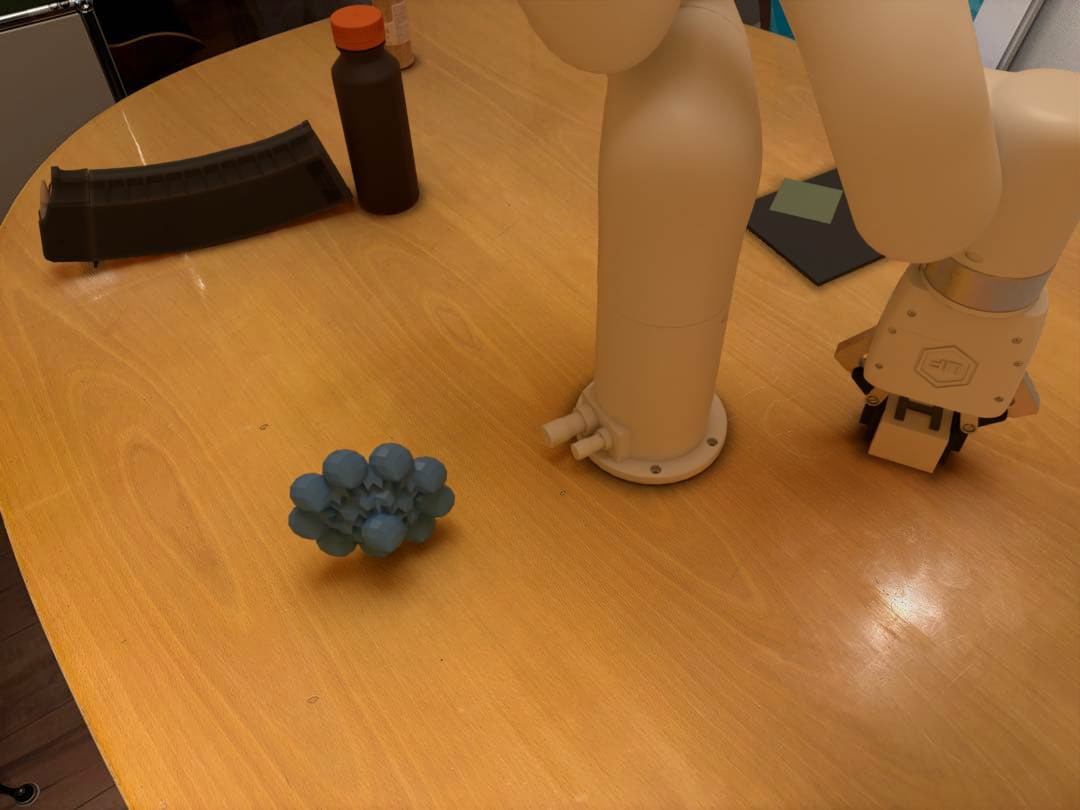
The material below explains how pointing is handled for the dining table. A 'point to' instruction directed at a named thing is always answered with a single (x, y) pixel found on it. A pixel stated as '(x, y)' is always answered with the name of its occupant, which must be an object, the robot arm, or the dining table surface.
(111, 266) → the dining table surface
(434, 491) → the grapes
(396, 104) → the vinegar
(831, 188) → the mat
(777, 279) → the dining table surface
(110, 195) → the magazine
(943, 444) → the tile
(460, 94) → the dining table surface
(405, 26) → the sprinkles bottle
